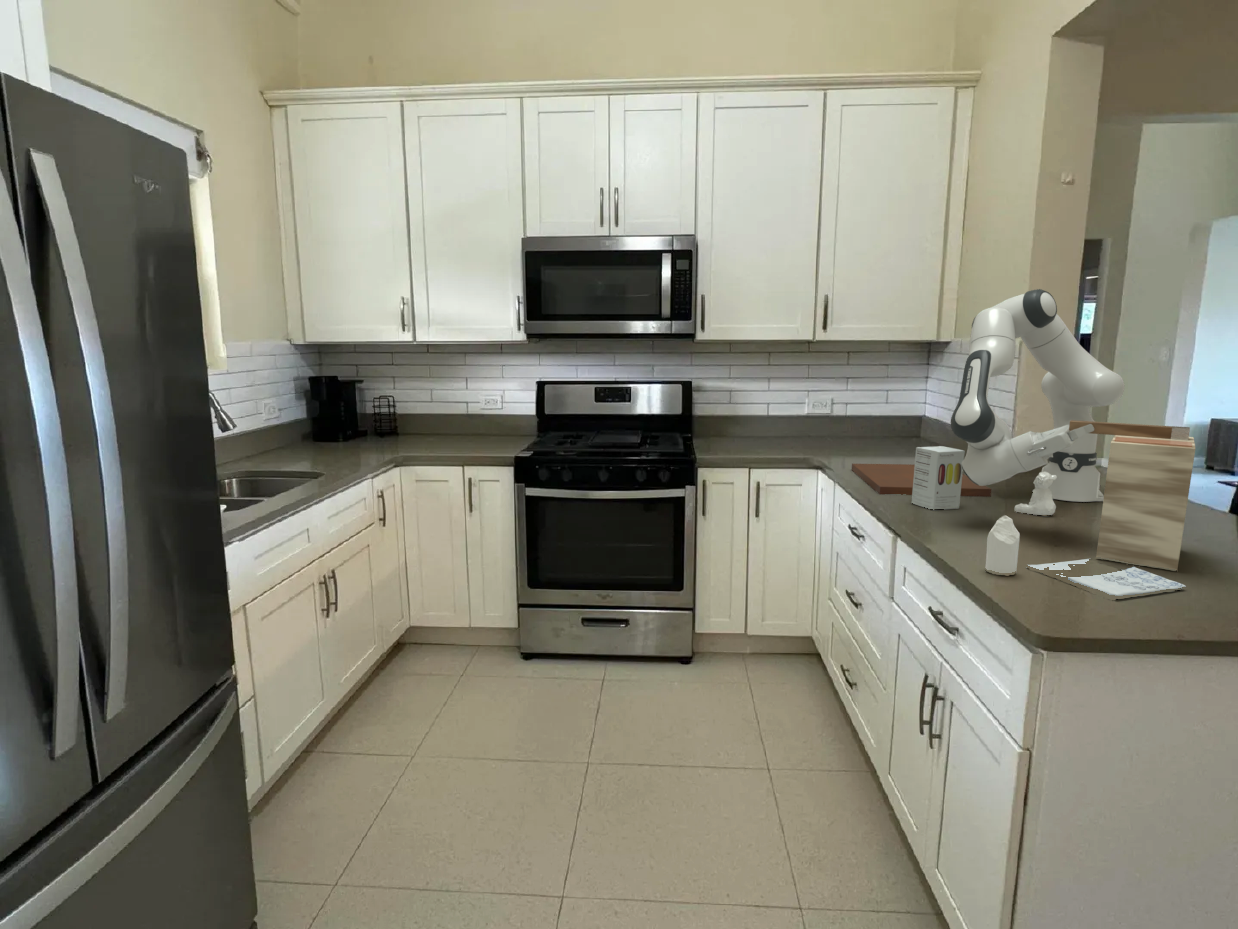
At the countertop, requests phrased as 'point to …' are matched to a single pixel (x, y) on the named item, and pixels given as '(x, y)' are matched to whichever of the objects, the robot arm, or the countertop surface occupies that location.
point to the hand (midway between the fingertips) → (1094, 425)
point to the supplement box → (937, 477)
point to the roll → (1002, 546)
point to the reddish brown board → (905, 479)
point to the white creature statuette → (1040, 497)
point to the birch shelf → (1146, 500)
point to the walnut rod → (1135, 430)
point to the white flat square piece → (1117, 580)
